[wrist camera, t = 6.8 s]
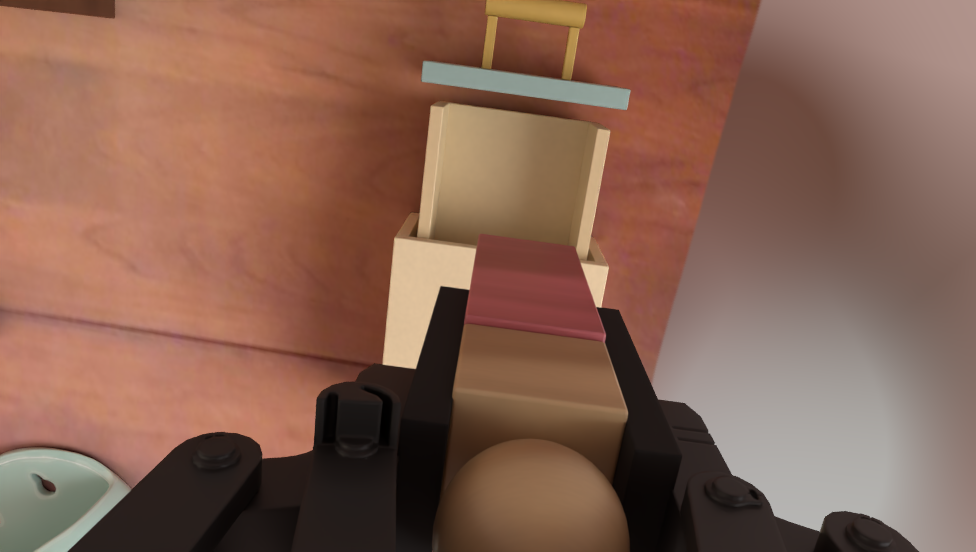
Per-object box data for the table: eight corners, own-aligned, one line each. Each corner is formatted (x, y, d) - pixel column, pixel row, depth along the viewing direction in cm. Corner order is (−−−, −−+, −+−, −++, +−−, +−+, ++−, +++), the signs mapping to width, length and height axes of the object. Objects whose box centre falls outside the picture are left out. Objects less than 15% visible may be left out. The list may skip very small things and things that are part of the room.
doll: (478, 232, 21) (435, 488, 8) (575, 245, 21) (674, 520, 8) (465, 337, 22) (408, 700, 9) (557, 349, 22) (620, 727, 10)
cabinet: (410, 211, 49) (394, 237, 42) (594, 236, 50) (609, 266, 42) (391, 401, 54) (373, 453, 47) (559, 423, 54) (567, 478, 47)
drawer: (440, -11, 44) (431, -22, 38) (628, 15, 44) (646, 8, 39) (412, 265, 50) (400, 291, 44) (578, 288, 50) (587, 316, 44)
